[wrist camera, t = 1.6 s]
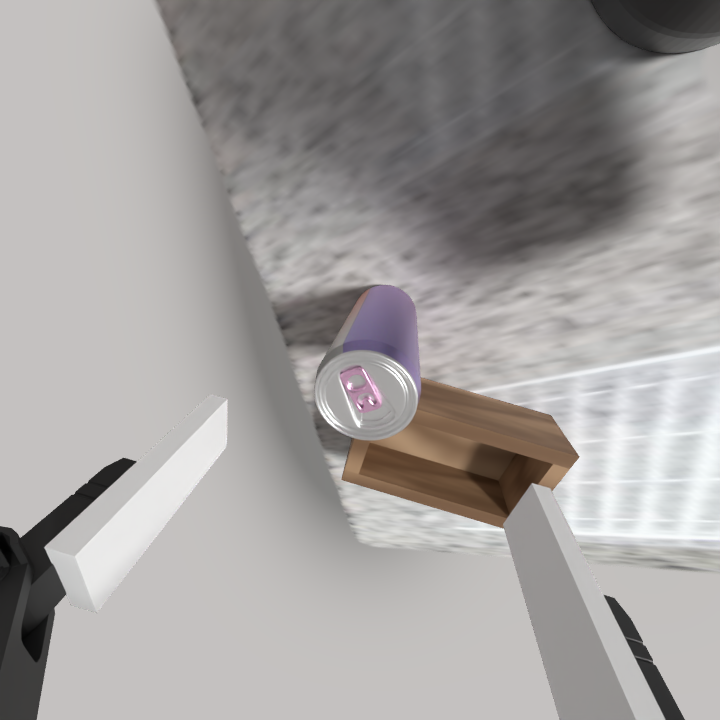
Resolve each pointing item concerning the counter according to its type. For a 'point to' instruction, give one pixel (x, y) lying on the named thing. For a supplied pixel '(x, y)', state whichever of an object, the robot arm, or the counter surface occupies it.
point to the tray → (464, 455)
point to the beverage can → (372, 368)
